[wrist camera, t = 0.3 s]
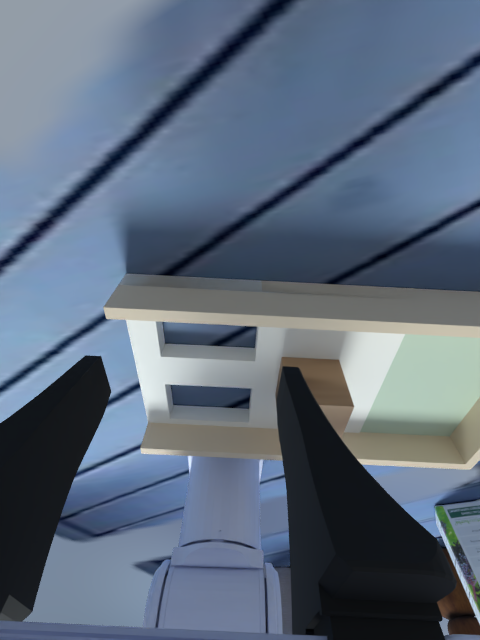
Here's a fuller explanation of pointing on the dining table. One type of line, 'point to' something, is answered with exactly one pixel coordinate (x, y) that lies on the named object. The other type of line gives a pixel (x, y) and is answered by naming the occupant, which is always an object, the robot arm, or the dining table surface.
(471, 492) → the dining table surface
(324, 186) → the dining table surface
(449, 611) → the wooden figurine
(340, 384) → the walnut block
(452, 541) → the syrup box
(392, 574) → the robot arm
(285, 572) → the pillar candle
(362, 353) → the board
